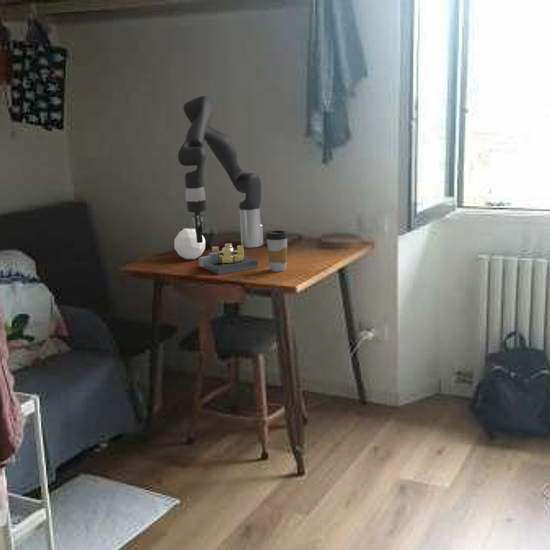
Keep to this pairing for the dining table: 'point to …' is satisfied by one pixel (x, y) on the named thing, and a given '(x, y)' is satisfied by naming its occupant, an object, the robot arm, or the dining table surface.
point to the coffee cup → (277, 250)
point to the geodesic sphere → (188, 244)
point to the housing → (232, 265)
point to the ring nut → (219, 258)
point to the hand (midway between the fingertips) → (199, 242)
